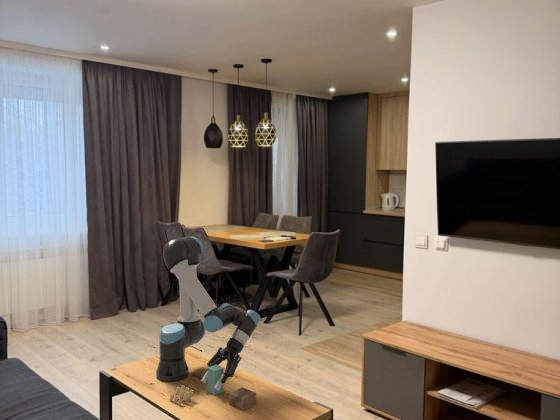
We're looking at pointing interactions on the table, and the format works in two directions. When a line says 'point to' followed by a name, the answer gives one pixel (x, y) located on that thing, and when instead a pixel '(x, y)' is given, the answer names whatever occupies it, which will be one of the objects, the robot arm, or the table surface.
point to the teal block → (215, 379)
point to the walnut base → (242, 398)
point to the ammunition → (182, 394)
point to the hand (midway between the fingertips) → (209, 385)
